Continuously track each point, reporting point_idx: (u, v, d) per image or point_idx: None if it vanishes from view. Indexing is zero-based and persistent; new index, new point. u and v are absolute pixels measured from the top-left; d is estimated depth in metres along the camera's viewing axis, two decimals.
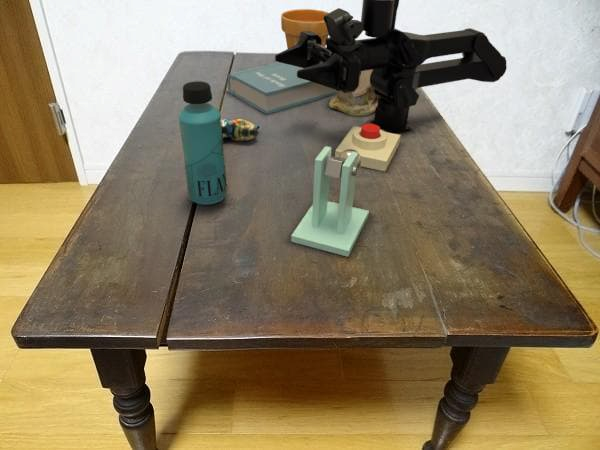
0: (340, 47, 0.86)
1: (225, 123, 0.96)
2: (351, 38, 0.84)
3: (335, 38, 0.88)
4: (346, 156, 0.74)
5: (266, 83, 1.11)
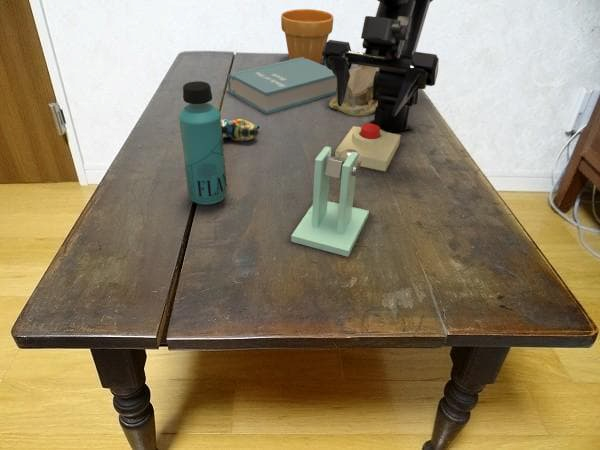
0: (396, 49, 0.76)
1: (225, 123, 0.96)
2: (407, 38, 0.74)
3: (379, 42, 0.76)
4: (346, 156, 0.74)
5: (266, 83, 1.11)
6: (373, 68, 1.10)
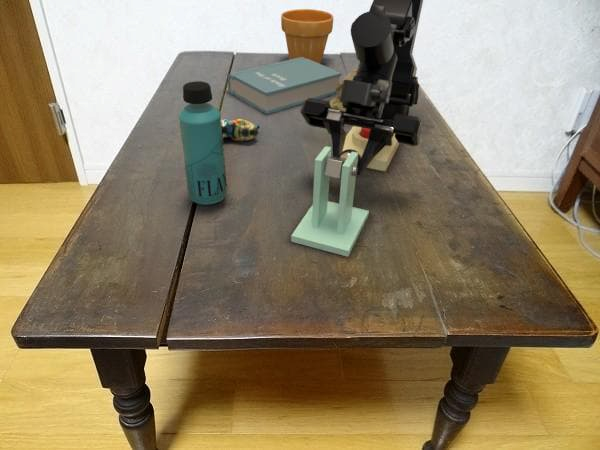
0: (376, 111, 0.73)
1: (225, 123, 0.96)
2: (388, 101, 0.71)
3: (359, 103, 0.73)
4: (346, 156, 0.74)
5: (266, 83, 1.11)
6: None
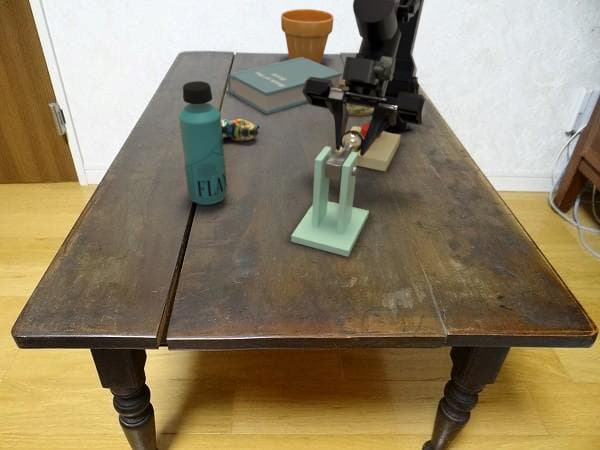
0: (380, 89, 0.72)
1: (225, 123, 0.96)
2: (391, 78, 0.70)
3: (362, 81, 0.72)
4: (348, 141, 0.73)
5: (266, 83, 1.11)
6: None
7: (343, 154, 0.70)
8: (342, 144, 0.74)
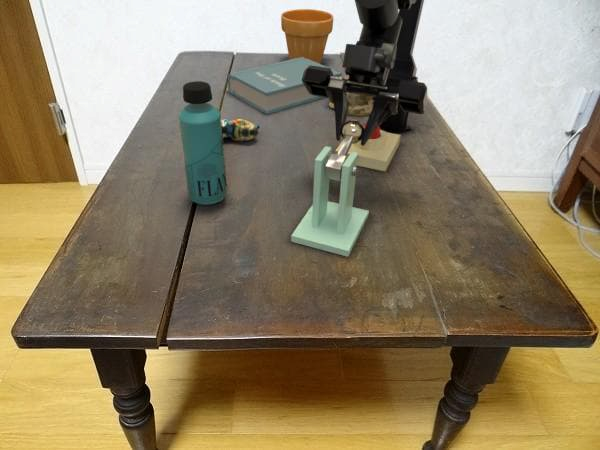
0: (381, 77, 0.70)
1: (225, 123, 0.96)
2: (393, 66, 0.68)
3: (363, 69, 0.70)
4: (348, 134, 0.72)
5: (266, 83, 1.11)
6: None
7: (343, 151, 0.70)
8: (342, 136, 0.73)
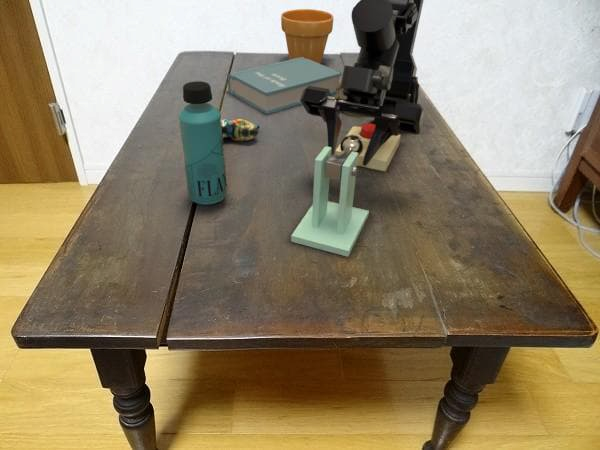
0: (378, 99, 0.72)
1: (225, 123, 0.96)
2: (389, 88, 0.70)
3: (360, 90, 0.72)
4: (347, 145, 0.73)
5: (266, 83, 1.11)
6: None
7: (343, 156, 0.71)
8: (342, 148, 0.74)
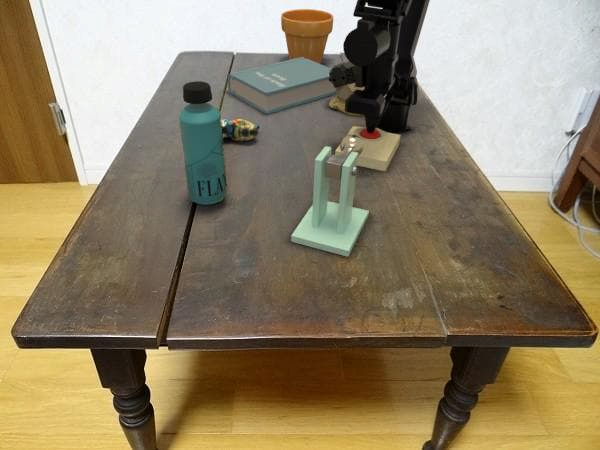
0: (356, 86, 0.86)
1: (225, 123, 0.96)
2: (344, 81, 0.85)
3: None
4: (347, 145, 0.73)
5: (266, 83, 1.11)
6: None
7: (343, 156, 0.71)
8: (342, 148, 0.74)
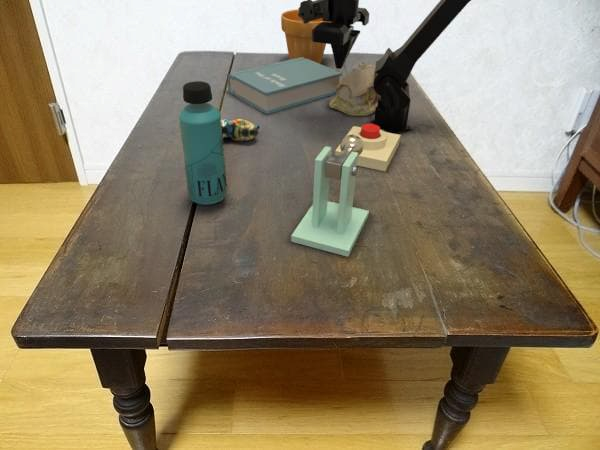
0: (323, 20, 0.93)
1: (225, 123, 0.96)
2: (312, 15, 0.92)
3: None
4: (347, 145, 0.73)
5: (266, 83, 1.11)
6: (373, 68, 1.10)
7: (343, 156, 0.71)
8: (342, 148, 0.74)
